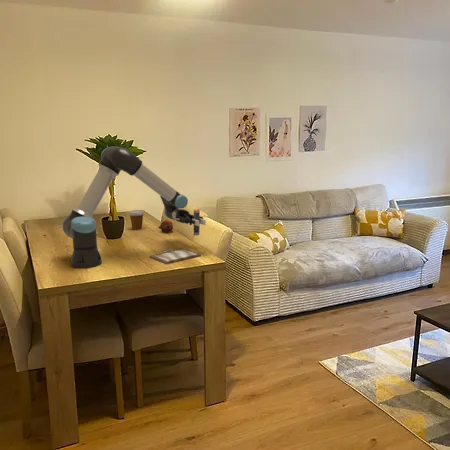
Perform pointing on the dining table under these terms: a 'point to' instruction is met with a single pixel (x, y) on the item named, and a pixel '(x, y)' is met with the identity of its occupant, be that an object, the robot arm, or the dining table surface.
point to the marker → (196, 217)
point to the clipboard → (174, 256)
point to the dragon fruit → (166, 226)
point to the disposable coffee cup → (136, 219)
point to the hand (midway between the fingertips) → (201, 223)
